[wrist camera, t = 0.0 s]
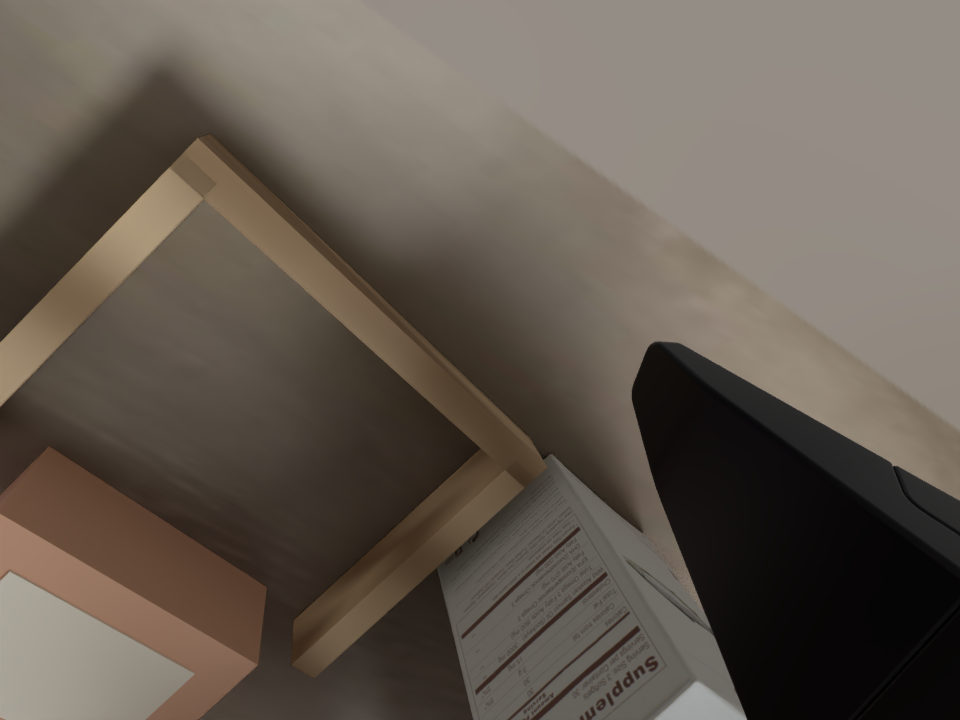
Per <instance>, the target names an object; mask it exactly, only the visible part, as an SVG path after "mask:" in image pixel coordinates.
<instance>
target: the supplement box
mask: <svg viewBox="0 0 960 720" xmlns="http://www.w3.org/2000/svg"><path fill="white" fill-rule="evenodd" d="M543 461H544V462H545V464H546V466H547V468H546V469H545V470H544V471H543V472H542V473H541V474H540V475H539V476H537V477H536V478H535V479H534V480H533V481H532V482H531V483H530V484H529V485H527V486H526V487H525V488H524V489H523V490H522V491H521V492H520V493H519V494H518V495H516V496H515V497H514V498H513V499H512V500H511V501H510V502H509V503H508V504H506V505H505V506H504V507H503V508H502V509H501V510H500V511H499V512H498V513H497V514H495V515H494V516H493V517H492V518H491V519H490V520H489V521H488V522H487V523H485V524H484V525H483V526H482V527H481V528H480V529H479V530H478V531H477V532H476V533H474V534H473V535H472V536H471V537H470V538H469V539H468V540H467V541H466V542H464V543H463V544H462V545H461V546H460V547H459V548H458V549H457V550H456V551H455V552H453V553H452V554H451V555H450V556H449V557H448V558H447V559H446V560H445V561H443V562H442V563H441V564H440V565H439V566H438V567H437V570H438V573H439V577H440V582H441V585H442V590H443V595H444V599H445V603H446V607H447V611H448V615H449V619H450V623H451V627H452V632H453V636H454V640H455V645H456V649H457V653H458V657H459V661H460V665H461V670H462V674H463V679H464V683H465V687H466V691H467V695H468V699H469V703H470V708H471V712H472V717H473V720H747V719H746V716H745V713H744V711H743V708H742V706H741V703H740V701H739V698H738V696H737V693H736V691H735V688H734V686H733V683H732V680H731V678H730V675H729V673H728V670H727V668H726V665H725V663H724V660H723V658H722V655H721V652H720V650H719V647H718V645H717V642H716V640H715V637H714V635H713V632H712V630H711V627H710V625H709V622H708V619H707V617H706V615H705V614H704V613H703V611H702V610H701V609H700V607H699V606H698V605H697V603H696V602H695V601H694V599H693V598H692V597H691V595H690V594H689V592H688V591H687V590H686V588H685V587H684V586H683V584H682V583H681V582H680V580H679V579H678V577H677V576H676V575H675V573H674V572H673V571H672V569H671V568H670V567H669V565H668V564H667V563H666V561H665V560H664V559H663V557H662V556H661V555H660V553H659V552H658V551H657V549H656V548H655V547H654V545H653V544H652V543H651V541H650V540H649V539H648V538H647V537H646V536H645V535H644V534H642V533H641V532H640V531H639V530H637V529H636V528H635V527H633V526H632V525H631V524H630V523H628V522H627V521H626V520H624V519H623V518H622V517H621V516H620V515H618V514H617V513H616V512H615V511H614V510H612V509H611V508H610V507H609V506H608V505H607V504H606V503H604V502H603V501H602V500H601V499H600V498H599V497H598V496H597V495H595V494H594V493H593V492H592V491H591V490H590V489H589V488H588V487H587V486H585V485H584V484H583V483H582V482H581V481H580V480H579V479H578V478H577V477H575V476H574V475H573V474H572V473H571V472H570V471H569V470H568V469H567V468H566V467H565V466H564V465H563V464H562V463H561V462H560V461H559V460H558V459H557V458H556V457H555V456H554V455H552V454H550V455H549V456H548V457H546V458H545V459H544V460H543Z"/></svg>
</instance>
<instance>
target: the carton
mask: <svg viewBox="0 0 960 720" xmlns="http://www.w3.org/2000/svg"><path fill="white" fill-rule="evenodd" d="M266 591H267V587H266V586H264V585H262V584H261V583H259V582H258V581H256V580H255V579H253V578H252V577H250V576H249V575H247V574H246V573H244V572H242V571H241V570H239V569H238V568H236V567H235V566H233V565H232V564H230V563H229V562H227V561H225V560H224V559H222V558H221V557H219V556H218V555H216V554H215V553H213V552H212V551H210V550H209V549H207V548H205V547H204V546H202V545H201V544H199V543H198V542H196V541H195V540H193V539H192V538H190V537H188V536H187V535H185V534H184V533H182V532H181V531H179V530H178V529H176V528H175V527H173V526H172V525H170V524H168V523H167V522H165V521H164V520H162V519H161V518H159V517H158V516H156V515H155V514H153V513H151V512H150V511H148V510H147V509H145V508H144V507H142V506H141V505H139V504H138V503H136V502H135V501H133V500H131V499H130V498H128V497H127V496H125V495H124V494H122V493H121V492H119V491H118V490H116V489H114V488H113V487H111V486H110V485H108V484H107V483H105V482H104V481H102V480H101V479H99V478H98V477H96V476H94V475H93V474H91V473H90V472H88V471H87V470H85V469H84V468H82V467H81V466H79V465H78V464H76V463H74V462H73V461H71V460H70V459H68V458H67V457H65V456H64V455H62V454H61V453H59V452H57V451H56V450H54V449H53V448H51V447H50V446H48V447H47V448H46V449H45V450H44V451H43V452H42V453H41V454H40V455H39V456H38V457H37V458H36V459H35V460H34V461H33V462H32V463H31V464H30V465H29V466H28V467H27V468H26V469H25V470H24V471H23V473H22V474H21V475H20V476H19V477H18V478H17V479H16V480H15V481H14V482H13V483H12V484H11V485H10V486H9V487H8V488H7V489H6V490H5V491H4V492H3V493H2V494H1V495H0V720H199V719H200V718H201V717H202V716H203V715H204V714H205V713H206V712H207V711H208V710H210V709H211V708H212V707H213V706H214V705H215V704H216V703H217V702H218V701H219V700H220V699H222V698H223V697H224V696H225V695H226V694H227V693H228V692H229V691H230V690H231V689H232V688H234V687H235V686H236V685H237V684H238V683H239V682H240V681H241V680H242V679H243V678H244V677H246V676H247V675H248V674H249V673H250V672H251V671H252V670H253V669H254V668H255V667H257V666H258V661H259V653H260V644H261V635H262V626H263V617H264V608H265V600H266Z"/></svg>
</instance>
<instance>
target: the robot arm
mask: <svg viewBox="0 0 960 720" xmlns="http://www.w3.org/2000/svg"><path fill="white" fill-rule="evenodd" d="M632 402H633V406H634V410H635V414H636V417H637V421H638V425H639V429H640V432H641V436H642V440H643V444H644V447H645V451H646V455H647V458H648V462H649V466H650V470H651V473H652V476H653V480H654V483H655V486H656V489H657V492H658V494H659V497H660V500H661V503H662V505H663V508H664V510H665V513H666V515H667V518H668V520H669V523H670V525H671V528H672V530H673V533H674V536H675V538H676V541H677V543H678V546H679V548H680V551H681V553H682V556H683V558H684V561H685V564H686V566H687V569H688V571H689V574H690V576H691V579H692V581H693V584H694V586H695V589H696V591H697V594H698V597H699V599H700V602H701V604H702V607H703V609H704V612H705V614H706V617H707V619H708V622H709V625H710V627H711V630H712V632H713V635H714V637H715V640H716V642H717V645H718V647H719V650H720V652H721V655H722V658H723V660H724V663H725V665H726V668H727V670H728V673H729V675H730V678H731V680H732V683H733V686H734V688H735V691H736V693H737V696H738V698H739V701H740V703H741V706H742V708H743V711H744V713H745V716H746V719H747V720H960V501H959V500H958V499H956V498H954V497H952V496H950V495H948V494H947V493H945V492H943V491H941V490H939V489H938V488H936V487H934V486H932V485H930V484H928V483H927V482H925V481H923V480H921V479H919V478H918V477H916V476H914V475H912V474H911V473H909V472H907V471H905V470H904V469H902V468H900V467H898V466H892V464H891V462H889V461H887V460H886V459H884V458H882V457H880V456H878V455H877V454H875V453H873V452H871V451H870V450H868V449H866V448H864V447H863V446H861V445H859V444H857V443H855V442H854V441H852V440H850V439H848V438H847V437H845V436H843V435H841V434H840V433H838V432H836V431H834V430H832V429H831V428H829V427H827V426H825V425H824V424H822V423H820V422H818V421H817V420H815V419H813V418H811V417H809V416H808V415H806V414H804V413H802V412H801V411H799V410H797V409H795V408H794V407H792V406H790V405H788V404H786V403H785V402H783V401H781V400H779V399H778V398H776V397H774V396H772V395H771V394H769V393H767V392H765V391H763V390H762V389H760V388H758V387H756V386H755V385H753V384H751V383H749V382H748V381H746V380H744V379H742V378H740V377H739V376H737V375H735V374H733V373H732V372H730V371H728V370H726V369H725V368H723V367H721V366H719V365H717V364H716V363H714V362H712V361H710V360H709V359H707V358H705V357H703V356H702V355H700V354H698V353H696V352H694V351H693V350H691V349H689V348H687V347H686V346H684V345H682V344H680V343H675V342H654V343H652V344H651V345H650V346H649V347H648V349H647V351H646V353H645V356H644V358H643V361H642V363H641V366H640V368H639V371H638V374H637V376H636V379H635V381H634V384H633V388H632Z"/></svg>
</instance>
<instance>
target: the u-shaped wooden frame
mask: <svg viewBox="0 0 960 720" xmlns="http://www.w3.org/2000/svg"><path fill="white" fill-rule="evenodd" d="M204 199H205V200H206V201H207V202H208V203H209V204H210V205H211V206H212V207H213V208H215V209H216V210H217V211H218V212H219V213H220V214H221V215H222V216H223V217H225V218H226V219H227V220H228V221H229V222H230V223H231V224H232V225H233V226H235V227H236V228H237V229H238V230H239V231H240V232H241V233H242V234H243V235H245V236H246V237H247V238H248V239H249V240H250V241H251V242H252V243H253V244H255V245H256V246H257V247H258V248H259V249H260V250H261V251H262V252H263V253H265V254H266V255H267V256H268V257H269V258H270V259H271V260H272V261H273V262H275V263H276V264H277V265H278V266H279V267H280V268H281V269H282V270H283V271H285V272H286V273H287V274H288V275H289V276H290V277H291V278H292V279H293V280H294V281H296V282H297V283H298V284H299V285H300V286H301V287H302V288H303V289H304V290H306V291H307V292H308V293H309V294H310V295H311V296H312V297H313V298H314V299H316V300H317V301H318V302H319V303H320V304H321V305H322V306H323V307H324V308H326V309H327V310H328V311H329V312H330V313H331V314H332V315H333V316H334V317H336V318H337V319H338V320H339V321H340V322H341V323H342V324H343V325H344V326H346V327H347V328H348V329H349V330H350V331H351V332H352V333H353V334H354V335H356V336H357V337H358V338H359V339H360V340H361V341H362V342H363V343H364V344H366V345H367V346H368V347H369V348H370V349H371V350H372V351H373V352H374V353H375V354H377V355H378V356H379V357H380V358H381V359H382V360H383V361H384V362H385V363H387V364H388V365H389V366H390V367H391V368H392V369H393V370H394V371H395V372H397V373H398V374H399V375H400V376H401V377H402V378H403V379H404V380H405V381H407V382H408V383H409V384H410V385H411V386H412V387H413V388H414V389H415V390H417V391H418V392H419V393H420V394H421V395H422V396H423V397H424V398H425V399H427V400H428V401H429V402H430V403H431V404H432V405H433V406H434V407H435V408H437V409H438V410H439V411H440V412H441V413H442V414H443V415H444V416H445V417H447V418H448V419H449V420H450V421H451V422H452V423H453V424H454V425H455V426H456V427H458V428H459V429H460V430H461V431H462V432H463V433H464V434H465V435H466V436H468V437H469V438H470V439H471V440H472V441H473V442H474V443H475V444H476V445H478V446H479V447H480V449H479V450H478V451H477V452H476V453H475V454H474V455H473V456H472V457H471V458H470V459H468V460H467V461H466V462H465V463H464V464H463V465H462V466H461V467H460V468H459V469H458V470H456V471H455V472H454V473H453V474H452V475H451V476H450V477H449V478H448V479H447V480H446V481H445V482H443V483H442V484H441V485H440V486H439V487H438V488H437V489H436V490H435V491H434V492H433V493H431V494H430V495H429V496H428V497H427V498H426V499H425V500H424V501H423V502H422V503H421V504H420V505H418V506H417V507H416V508H415V509H414V510H413V511H412V512H411V513H410V514H409V515H408V516H406V517H405V518H404V519H403V520H402V521H401V522H400V523H399V524H398V525H397V526H396V527H395V528H393V529H392V530H391V531H390V532H389V533H388V534H387V535H386V536H385V537H384V538H383V539H382V540H380V541H379V542H378V543H377V544H376V545H375V546H374V547H373V548H372V549H371V550H370V551H368V552H367V553H366V554H365V555H364V556H363V557H362V558H361V559H360V560H359V561H358V562H357V563H355V564H354V565H353V566H352V567H351V568H350V569H349V570H348V571H347V572H346V573H345V574H343V575H342V576H341V577H340V578H339V579H338V580H337V581H336V582H335V583H334V584H333V585H332V586H330V587H329V588H328V589H327V590H326V591H325V592H324V593H323V594H322V595H321V596H320V597H318V598H317V599H316V600H315V601H314V602H313V603H312V604H311V605H310V606H309V607H308V608H307V609H305V610H304V611H303V612H302V613H301V614H300V615H299V616H298V617H297V618H296V619H295V620H293V639H292V657H291V665H292V666H293V667H295V668H297V669H298V670H300V671H302V672H303V673H305V674H307V675H308V676H310V677H312V678H313V679H314V678H315V677H316V676H317V675H319V674H320V673H321V672H322V671H323V670H324V669H325V668H326V667H327V666H329V665H330V664H331V663H332V662H333V661H334V660H335V659H336V658H337V657H338V656H340V655H341V654H342V653H343V652H344V651H345V650H346V649H347V648H348V647H350V646H351V645H352V644H353V643H354V642H355V641H356V640H357V639H358V638H359V637H361V636H362V635H363V634H364V633H365V632H366V631H367V630H368V629H369V628H371V627H372V626H373V625H374V624H375V623H376V622H377V621H378V620H379V619H380V618H382V617H383V616H384V615H385V614H386V613H387V612H388V611H389V610H390V609H392V608H393V607H394V606H395V605H396V604H397V603H398V602H399V601H400V600H401V599H403V598H404V597H405V596H406V595H407V594H408V593H409V592H410V591H411V590H413V589H414V588H415V587H416V586H417V585H418V584H419V583H420V582H421V581H422V580H424V579H425V578H426V577H427V576H428V575H429V574H430V573H431V572H432V571H434V570H435V569H436V568H437V567H438V566H439V565H440V564H441V563H442V562H443V561H445V560H446V559H447V558H448V557H449V556H450V555H451V554H452V553H453V552H455V551H456V550H457V549H458V548H459V547H460V546H461V545H462V544H463V543H464V542H466V541H467V540H468V539H469V538H470V537H471V536H472V535H473V534H474V533H476V532H477V531H478V530H479V529H480V528H481V527H482V526H483V525H484V524H485V523H487V522H488V521H489V520H490V519H491V518H492V517H493V516H494V515H495V514H497V513H498V512H499V511H500V510H501V509H502V508H503V507H504V506H505V505H506V504H508V503H509V502H510V501H511V500H512V499H513V498H514V497H515V496H516V495H518V494H519V493H520V492H521V491H522V490H523V489H524V488H525V487H526V486H527V485H529V484H530V483H531V482H532V481H533V480H534V479H535V478H536V477H537V476H539V475H540V474H541V473H542V472H543V471H544V470H545V469H546V468H547V466H546V464H545V462H544V461H543V459H542V457H541V456H540V454H539V453H538V451H537V449H536V448H535V446H534V444H533V443H532V441H531V439H530V438H529V437H528V436H527V435H526V434H525V433H524V432H523V431H522V430H521V429H520V428H519V427H518V426H517V425H516V424H515V423H514V422H512V421H511V420H510V419H509V418H508V417H507V416H506V415H505V414H504V413H503V412H502V411H501V410H500V409H499V408H498V407H497V406H496V405H495V404H494V403H493V402H492V401H490V400H489V399H488V398H487V397H486V396H485V395H484V394H483V393H482V392H481V391H480V390H479V389H478V388H477V387H476V386H475V385H474V384H473V383H472V382H471V381H469V380H468V379H467V378H466V377H465V376H464V375H463V374H462V373H461V372H460V371H459V370H458V369H457V368H456V367H455V366H454V365H453V364H452V363H451V362H450V361H449V360H447V359H446V358H445V357H444V356H443V355H442V354H441V353H440V352H439V351H438V350H437V349H436V348H435V347H434V346H433V345H432V344H431V343H430V342H429V341H428V340H427V339H425V338H424V337H423V336H422V335H421V334H420V333H419V332H418V331H417V330H416V329H415V328H414V327H413V326H412V325H411V324H410V323H409V322H408V321H407V320H406V319H404V318H403V317H402V316H401V315H400V314H399V313H398V312H397V311H396V310H395V309H394V308H393V307H392V306H391V305H390V304H389V303H388V302H387V301H386V300H385V299H384V298H382V297H381V296H380V295H379V294H378V293H377V292H376V291H375V290H374V289H373V288H372V287H371V286H370V285H369V284H368V283H367V282H366V281H365V280H364V279H363V278H361V277H360V276H359V275H358V274H357V273H356V272H355V271H354V270H353V269H352V268H351V267H350V266H349V265H348V264H347V263H346V262H345V261H344V260H343V259H342V258H341V257H339V256H338V255H337V254H336V253H335V252H334V251H333V250H332V249H331V248H330V247H329V246H328V245H327V244H326V243H325V242H324V241H323V240H322V239H321V238H320V237H318V236H317V235H316V234H315V233H314V232H313V231H312V230H311V229H310V228H309V227H308V226H307V225H306V224H305V223H304V222H303V221H302V220H301V219H300V218H299V217H298V216H296V215H295V214H294V213H293V212H292V211H291V210H290V209H289V208H288V207H287V206H286V205H285V204H284V203H283V202H282V201H281V200H280V199H279V198H278V197H277V196H275V195H274V194H273V193H272V192H271V191H270V190H269V189H268V188H267V187H266V186H265V185H264V184H263V183H262V182H261V181H260V180H259V179H258V178H257V177H256V176H255V175H253V174H252V173H251V172H250V171H249V170H248V169H247V168H246V167H245V166H244V165H243V164H242V163H241V162H240V161H239V160H238V159H237V158H236V157H235V156H234V155H232V154H231V153H230V152H229V151H228V150H227V149H226V148H225V147H224V146H223V145H222V144H221V143H220V142H219V141H218V140H217V139H216V138H215V137H214V136H213V135H212V134H208V135H205V136H202V137H199V138H197V139H196V140H195V141H194V142H193V143H192V144H191V145H190V146H189V147H188V148H187V149H186V151H185V152H184V153H183V154H182V155H181V156H180V157H179V158H178V159H177V160H176V161H175V162H174V163H173V164H172V165H171V166H170V167H169V168H168V169H167V170H166V171H165V172H164V173H163V174H162V175H161V176H160V177H159V178H158V180H157V181H156V182H155V183H154V184H153V185H152V186H151V187H150V188H149V189H148V190H147V191H146V192H145V193H144V194H143V195H142V196H141V197H140V198H139V199H138V200H137V201H136V202H135V203H134V204H133V205H132V206H131V208H130V209H129V210H128V211H127V212H126V213H125V214H124V215H123V216H122V217H121V218H120V219H119V220H118V221H117V222H116V223H115V224H114V225H113V226H112V227H111V228H110V229H109V230H108V231H107V232H106V233H105V234H104V235H103V237H102V238H101V239H100V240H99V241H98V242H97V243H96V244H95V245H94V246H93V247H92V248H91V249H90V250H89V251H88V252H87V253H86V254H85V255H84V256H83V257H82V258H81V259H80V260H79V261H78V262H77V263H76V264H75V266H74V267H73V268H72V269H71V270H70V271H69V272H68V273H67V274H66V275H65V276H64V277H63V278H62V279H61V280H60V281H59V282H58V283H57V284H56V285H55V286H54V287H53V288H52V289H51V290H50V291H49V292H48V294H47V295H46V296H45V297H44V298H43V299H42V300H41V301H40V302H39V303H38V304H37V305H36V306H35V307H34V308H33V309H32V310H31V311H30V312H29V313H28V314H27V315H26V316H25V317H24V318H23V319H22V320H21V321H20V323H19V324H18V325H17V326H16V327H15V328H14V329H13V330H12V331H11V332H10V333H9V334H8V335H7V336H6V337H5V338H4V339H3V340H2V341H1V342H0V407H1V406H2V405H3V404H4V403H5V402H6V401H7V400H8V399H9V398H10V397H11V396H12V395H13V394H14V393H15V392H16V391H17V390H18V389H19V388H20V387H21V386H22V385H23V384H24V383H25V382H26V381H27V380H28V379H29V378H30V377H31V376H32V375H33V374H34V373H35V372H36V371H37V370H38V368H39V367H40V366H41V365H42V364H43V363H44V362H45V361H46V360H47V359H48V358H49V357H50V356H51V355H52V354H53V353H54V352H55V351H56V350H57V349H58V348H59V347H60V346H61V345H62V344H63V343H64V342H65V341H66V340H67V339H68V338H69V337H70V336H71V335H72V334H73V333H74V332H75V331H76V330H77V329H78V328H79V327H80V326H81V325H82V324H83V322H84V321H85V320H86V319H87V318H88V317H89V316H90V315H91V314H92V313H93V312H94V311H95V310H96V309H97V308H98V307H99V306H100V305H101V304H102V303H103V302H104V301H105V300H106V299H107V298H108V297H109V296H110V295H111V294H112V293H113V292H114V291H115V290H116V289H117V288H118V287H119V286H120V285H121V284H122V283H123V282H124V281H125V280H126V279H127V277H128V276H129V275H130V274H131V273H132V272H133V271H134V270H135V269H136V268H137V267H138V266H139V265H140V264H141V263H142V262H143V261H144V260H145V259H146V258H147V257H148V256H149V255H150V254H151V253H152V252H153V251H154V250H155V249H156V248H157V247H158V246H159V245H160V244H161V243H162V242H163V241H164V240H165V239H166V238H167V237H168V236H169V235H170V234H171V233H172V231H173V230H174V229H175V228H176V227H177V226H178V225H179V224H180V223H181V222H182V221H183V220H184V219H185V218H186V217H187V216H188V215H189V214H190V213H191V212H192V211H193V210H194V209H195V208H196V207H197V206H198V205H199V204H200V203H201V202H202V201H203V200H204Z"/></svg>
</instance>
